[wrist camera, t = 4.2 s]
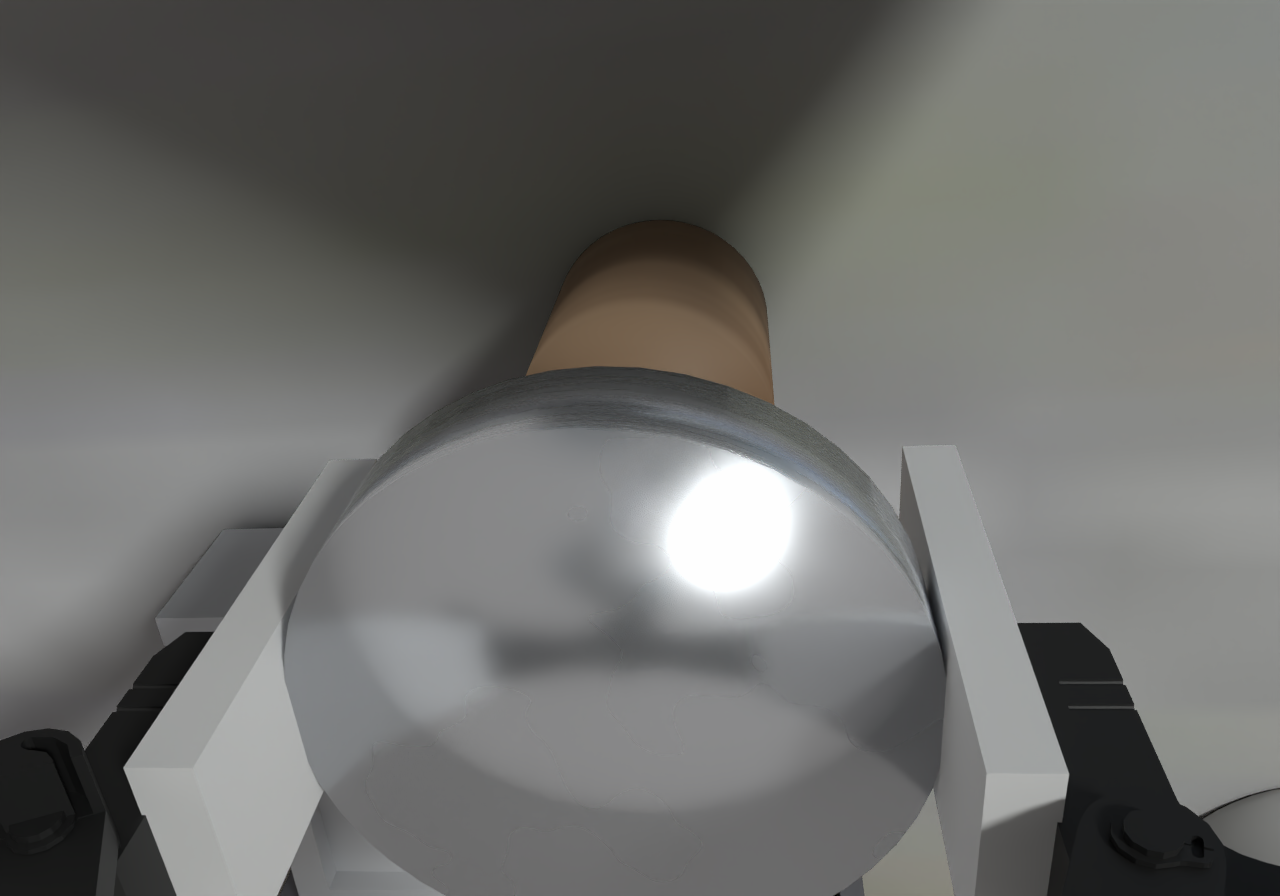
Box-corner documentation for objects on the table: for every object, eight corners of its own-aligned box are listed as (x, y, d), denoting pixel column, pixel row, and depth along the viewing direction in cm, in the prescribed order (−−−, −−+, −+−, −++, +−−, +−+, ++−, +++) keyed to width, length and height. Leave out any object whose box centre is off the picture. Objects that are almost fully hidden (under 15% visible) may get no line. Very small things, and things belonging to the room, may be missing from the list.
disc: (265, 376, 13) (210, 439, 12) (947, 354, 13) (971, 420, 11) (386, 849, 17) (354, 937, 16) (915, 856, 16) (931, 951, 15)
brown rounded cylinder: (545, 225, 26) (496, 318, 20) (765, 214, 25) (774, 307, 20) (567, 421, 28) (528, 552, 23) (769, 415, 27) (778, 546, 22)
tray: (223, 529, 30) (154, 618, 26) (831, 515, 28) (845, 608, 25) (344, 959, 37) (303, 1073, 34) (827, 966, 36) (838, 1087, 32)
